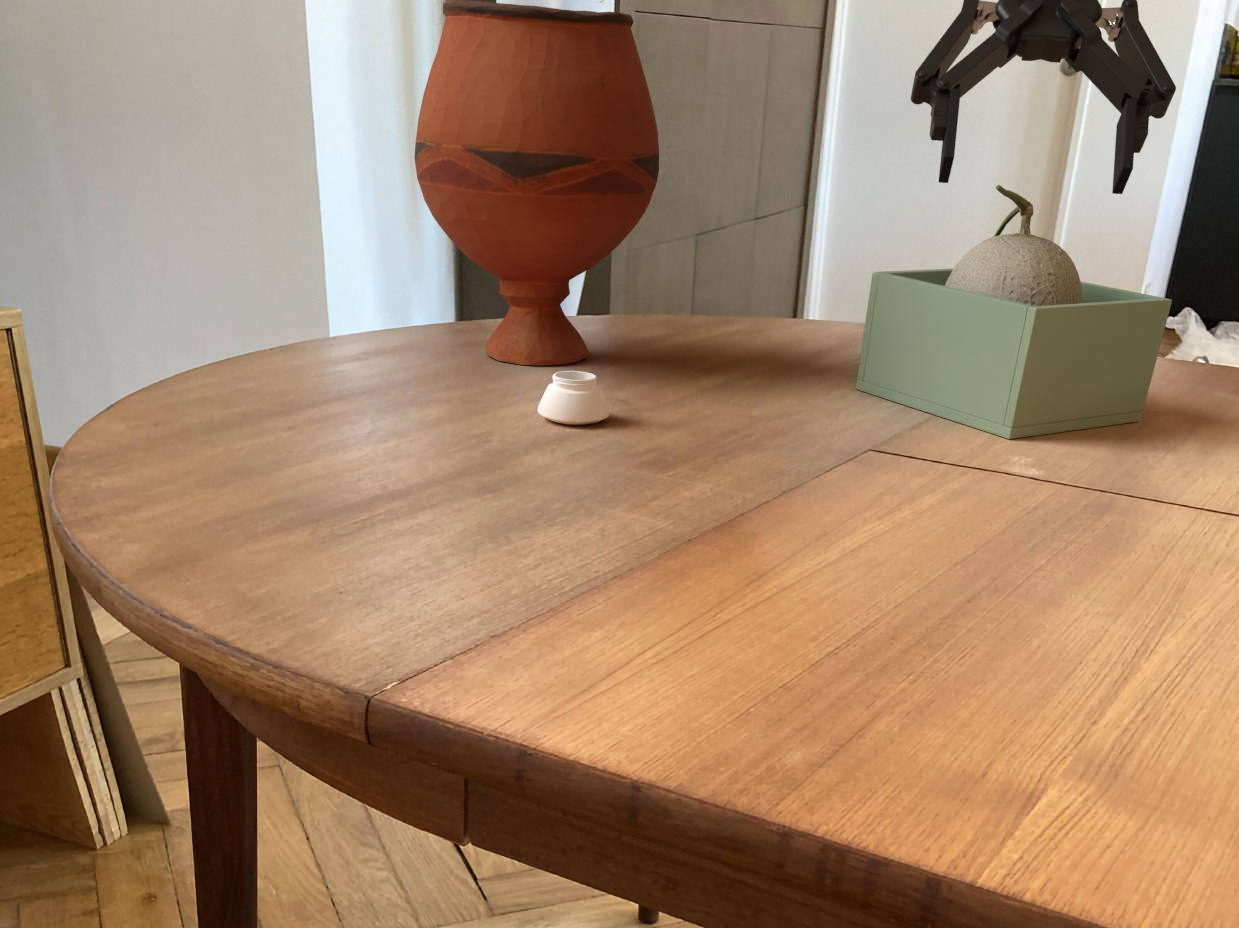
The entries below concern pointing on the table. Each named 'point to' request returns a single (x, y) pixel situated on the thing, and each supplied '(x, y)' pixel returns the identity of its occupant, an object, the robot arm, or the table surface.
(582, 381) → the white jar
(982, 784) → the table surface
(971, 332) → the bin
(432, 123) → the goblet
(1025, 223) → the fruit
